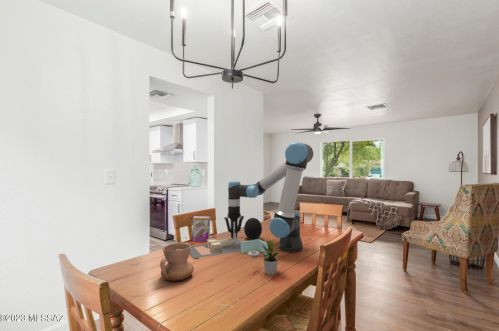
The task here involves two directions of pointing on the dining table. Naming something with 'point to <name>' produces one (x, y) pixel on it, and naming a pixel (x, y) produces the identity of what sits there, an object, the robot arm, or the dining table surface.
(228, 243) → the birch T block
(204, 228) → the candy bar box
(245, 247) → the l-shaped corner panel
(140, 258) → the dining table surface
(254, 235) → the decorative egg
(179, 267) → the ceramic jug
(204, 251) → the board
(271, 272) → the house plant
